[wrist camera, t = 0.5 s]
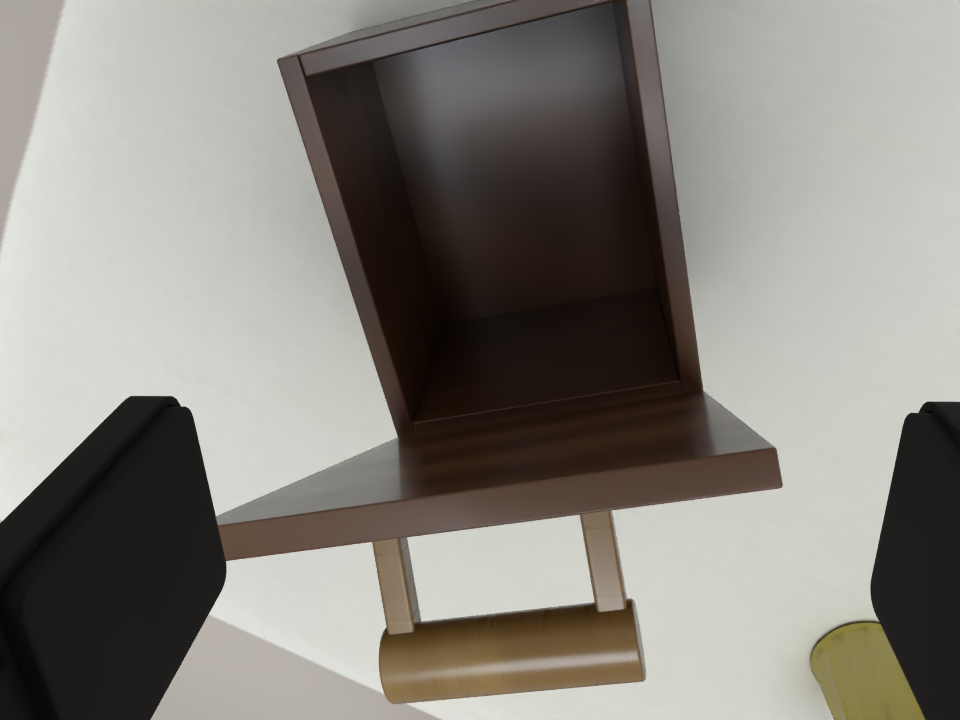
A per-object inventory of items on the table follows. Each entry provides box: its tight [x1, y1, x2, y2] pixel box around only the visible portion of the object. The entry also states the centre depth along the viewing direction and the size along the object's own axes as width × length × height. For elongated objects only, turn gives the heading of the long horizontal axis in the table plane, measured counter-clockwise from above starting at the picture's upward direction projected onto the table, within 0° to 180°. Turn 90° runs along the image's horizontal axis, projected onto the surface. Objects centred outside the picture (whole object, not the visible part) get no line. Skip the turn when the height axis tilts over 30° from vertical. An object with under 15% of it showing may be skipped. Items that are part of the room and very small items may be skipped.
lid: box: [216, 391, 783, 704], centre depth 25 cm, size 16×13×5 cm
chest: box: [277, 0, 703, 438], centre depth 35 cm, size 16×13×11 cm
